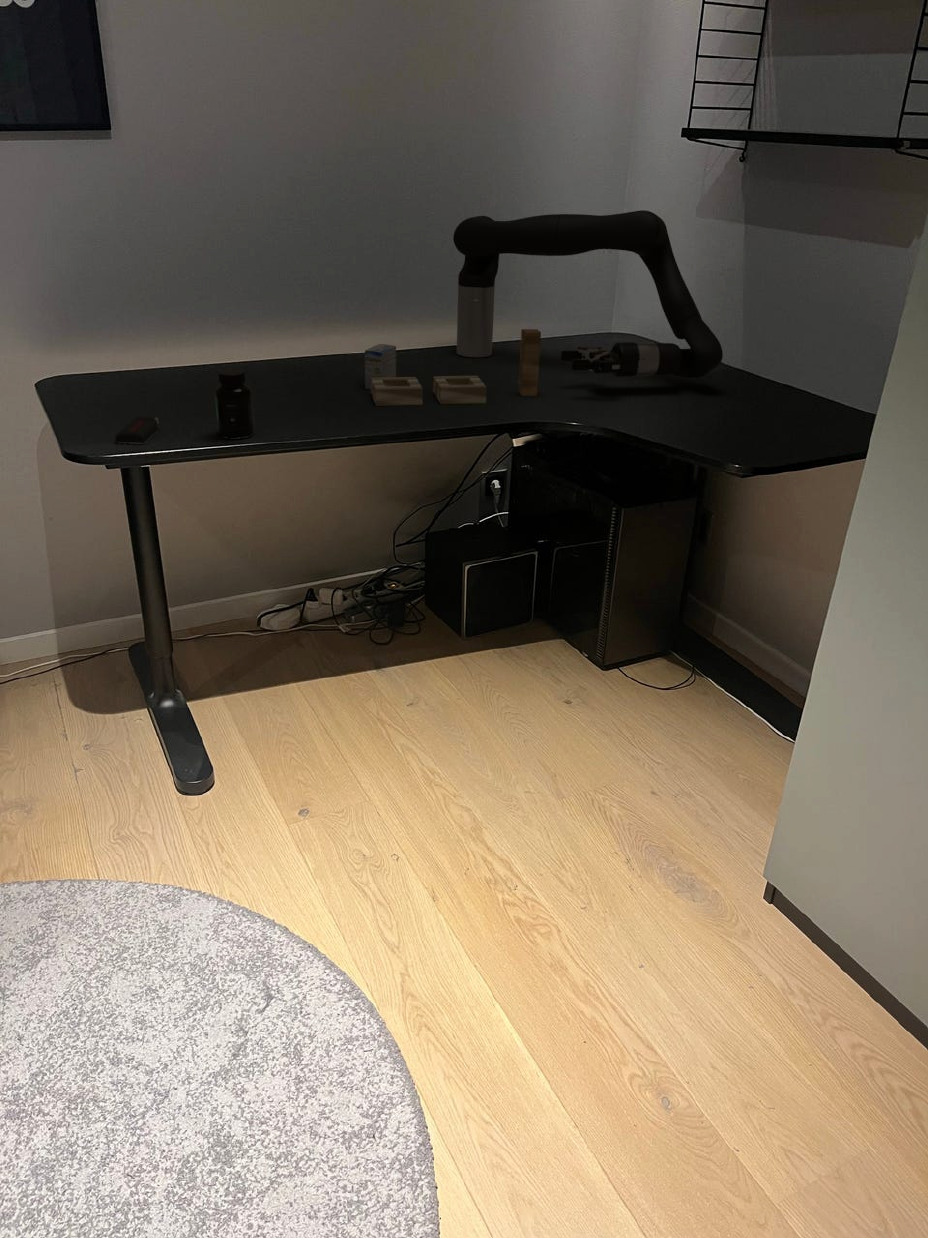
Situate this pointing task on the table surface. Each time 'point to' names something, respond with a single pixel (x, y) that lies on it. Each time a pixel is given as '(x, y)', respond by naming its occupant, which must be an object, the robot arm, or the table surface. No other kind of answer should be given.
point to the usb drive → (138, 430)
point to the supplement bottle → (234, 405)
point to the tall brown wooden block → (529, 362)
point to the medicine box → (380, 363)
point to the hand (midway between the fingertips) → (566, 360)
